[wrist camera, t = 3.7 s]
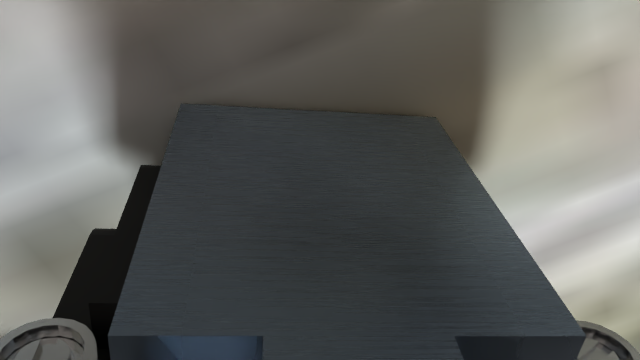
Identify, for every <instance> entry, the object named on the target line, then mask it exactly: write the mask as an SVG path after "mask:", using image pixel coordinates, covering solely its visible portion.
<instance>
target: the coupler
mask: <svg viewBox="0 0 640 360" xmlns="http://www.w3.org/2000/svg"><path fill="white" fill-rule="evenodd" d="M585 339H586V335H585V333H584V332H583V330H582V329H581V327H580V326H579V324H578V323H577V322H576V320H575V319H574V317H573V316H572V314H571V313H570V311H569V310H568V309H567V307H566V306H565V304H564V303H563V301H562V300H561V298H560V297H559V296H558V294H557V293H556V291H555V290H554V288H553V287H552V285H551V284H550V282H549V281H548V280H547V278H546V277H545V275H544V274H543V272H542V271H541V269H540V268H539V267H538V265H537V264H536V262H535V261H534V259H533V258H532V256H531V255H530V254H529V252H528V251H527V249H526V248H525V246H524V245H523V243H522V242H521V240H520V239H519V238H518V236H517V235H516V233H515V232H514V230H513V229H512V227H511V226H510V225H509V223H508V222H507V220H506V219H505V217H504V216H503V214H502V213H501V212H500V210H499V209H498V207H497V206H496V204H495V203H494V201H493V200H492V199H491V197H490V196H489V194H488V193H487V191H486V190H485V188H484V187H483V185H482V184H481V183H480V181H479V180H478V178H477V177H476V175H475V174H474V172H473V171H472V170H471V168H470V167H469V165H468V164H467V162H466V161H465V159H464V158H463V157H462V155H461V154H460V152H459V151H458V149H457V148H456V146H455V145H454V143H453V142H452V141H451V139H450V138H449V136H448V135H447V133H446V132H445V130H444V129H443V128H442V126H441V125H440V123H439V122H438V120H437V119H436V117H419V116H401V115H382V114H363V113H345V112H326V111H308V110H289V109H271V108H252V107H234V106H215V105H197V104H181V105H180V108H179V111H178V114H177V118H176V121H175V124H174V127H173V130H172V133H171V137H170V140H169V143H168V146H167V149H166V152H165V156H164V159H163V162H162V165H161V168H160V171H159V175H158V178H157V181H156V184H155V187H154V190H153V194H152V197H151V200H150V203H149V206H148V209H147V213H146V216H145V219H144V222H143V225H142V229H141V232H140V235H139V238H138V241H137V244H136V248H135V251H134V254H133V257H132V260H131V263H130V267H129V270H128V273H127V276H126V279H125V282H124V286H123V289H122V292H121V295H120V298H119V301H118V305H117V308H116V311H115V314H114V317H113V320H112V324H111V327H110V330H109V333H108V343H109V351H110V360H576V359H577V357H578V354H579V352H580V350H581V348H582V345H583V343H584V341H585Z"/></svg>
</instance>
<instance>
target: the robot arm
mask: <svg viewBox="0 0 640 360" xmlns="http://www.w3.org/2000/svg"><path fill="white" fill-rule="evenodd" d="M160 168H161V166H152V165H141V167H140V169H139V172H138V174H137V177H136V179H135V182H134V185H133V187H132V190H131V193H130V195H129V198H128V200H127V203H126V206H125V208H124V211H123V213H122V216H121V219H120V221H119V224H118V227H117V229H94V230H93V231H92V232H91V234H90V236H89V238H88V240H87V242H86V245H85V247H84V249H83V251H82V254H81V256H80V258H79V260H78V263H77V265H76V267H75V269H74V271H73V274H72V276H71V278H70V280H69V283H68V285H67V287H66V289H65V292H64V294H63V296H62V298H61V301H60V303H59V305H58V307H57V309H56V312H55V314H54V316H53V318H50V319H41V320H37V321H34V322H30V323H26V324H24V325H22V326H20V327H18V328H16V329H14V330H12V331H10V332H9V333H7V334H6V335H5V336H3V337H2V338H1V339H0V360H110V351H109V343H108V333H109V330H110V327H111V324H112V320H113V317H114V314H115V311H116V308H117V305H118V301H119V298H120V295H121V292H122V289H123V286H124V282H125V279H126V276H127V273H128V270H129V267H130V263H131V260H132V257H133V254H134V251H135V248H136V244H137V241H138V238H139V235H140V232H141V229H142V225H143V222H144V219H145V216H146V213H147V209H148V206H149V203H150V200H151V197H152V194H153V190H154V187H155V184H156V181H157V178H158V175H159V171H160ZM576 322H577V323H578V324H579V326H580V327H581V329H582V330H583V332H584V333H585V335H586V339H585V341H584V343H583V345H582V348H581V350H580V352H579V354H578V357H577V359H576V360H640V354H639V353H638V351H637V350H636V349H635V348H634V347H633V346H632V345H631V344H630V343H629V342H628V341H627V340H625V339H624V338H622V337H621V336H620V335H618V334H617V333H615V332H613V331H611V330H609V329H607V328H605V327H603V326H601V325H597V324H594V323H590V322H586V321H576Z"/></svg>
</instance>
